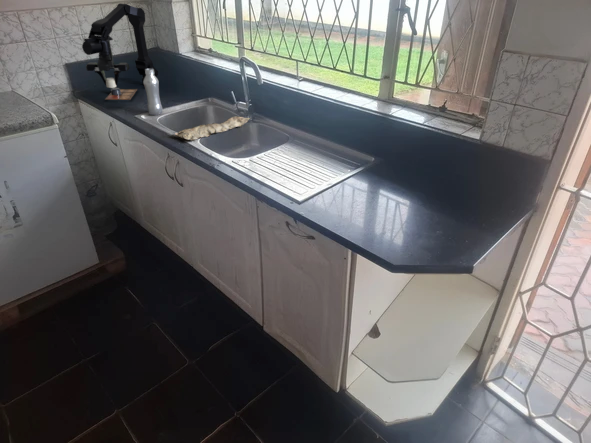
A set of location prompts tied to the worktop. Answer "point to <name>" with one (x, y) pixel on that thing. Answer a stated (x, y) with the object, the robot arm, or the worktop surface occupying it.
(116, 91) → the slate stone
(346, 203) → the worktop surface
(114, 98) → the wooden grid board
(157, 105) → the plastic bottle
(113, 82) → the white lidded jar
